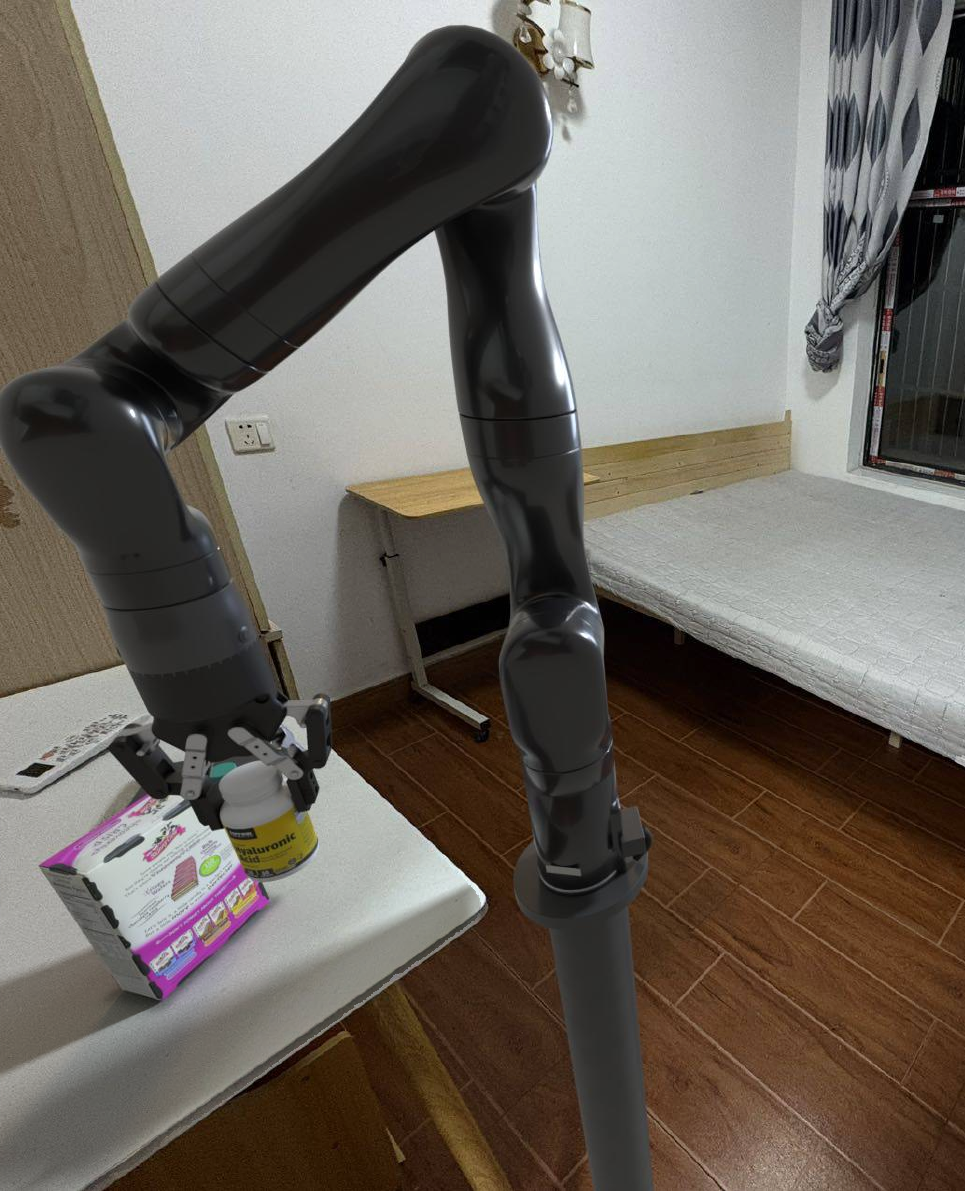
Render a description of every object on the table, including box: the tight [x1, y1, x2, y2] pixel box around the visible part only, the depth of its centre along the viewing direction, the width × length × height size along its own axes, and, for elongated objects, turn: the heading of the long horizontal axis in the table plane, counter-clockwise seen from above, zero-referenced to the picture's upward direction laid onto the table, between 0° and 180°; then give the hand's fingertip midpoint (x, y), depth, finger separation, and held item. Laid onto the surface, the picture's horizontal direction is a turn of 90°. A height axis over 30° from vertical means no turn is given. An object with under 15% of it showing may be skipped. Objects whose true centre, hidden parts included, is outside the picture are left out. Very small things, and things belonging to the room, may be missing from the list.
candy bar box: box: [38, 794, 271, 1001], centre depth 60 cm, size 11×5×16 cm, turn 170°
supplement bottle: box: [219, 761, 320, 883], centre depth 56 cm, size 5×5×10 cm
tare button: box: [210, 762, 237, 783], centre depth 80 cm, size 3×3×2 cm
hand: (265, 813), depth 55 cm, fingers closed on supplement bottle, 5 cm apart
